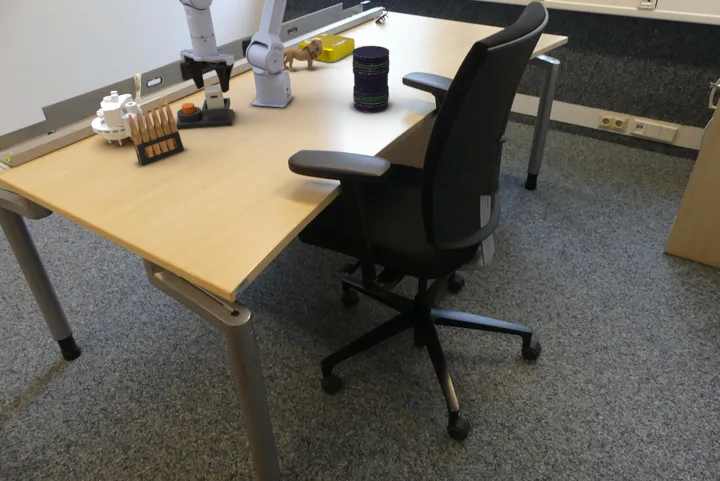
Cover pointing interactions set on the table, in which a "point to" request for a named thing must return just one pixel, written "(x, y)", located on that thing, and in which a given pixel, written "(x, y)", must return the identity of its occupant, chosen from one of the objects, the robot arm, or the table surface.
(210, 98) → the block
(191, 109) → the power button
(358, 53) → the storage jar
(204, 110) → the adapter socket
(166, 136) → the ammunition clip
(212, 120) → the black docking base
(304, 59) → the lion figurine
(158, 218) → the table surface
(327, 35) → the element tile
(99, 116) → the mechanical part
